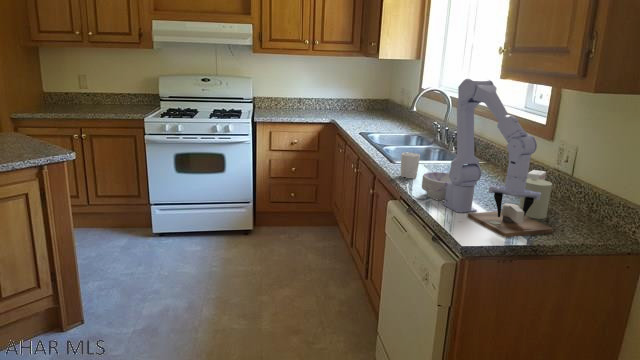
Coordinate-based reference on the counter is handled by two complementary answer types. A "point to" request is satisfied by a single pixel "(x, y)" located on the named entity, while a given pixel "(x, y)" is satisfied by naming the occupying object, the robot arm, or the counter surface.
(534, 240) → the counter surface
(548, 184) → the can
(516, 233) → the post board
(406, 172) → the white cup
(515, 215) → the white block
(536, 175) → the ink box
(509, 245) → the counter surface
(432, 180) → the paper bowls
